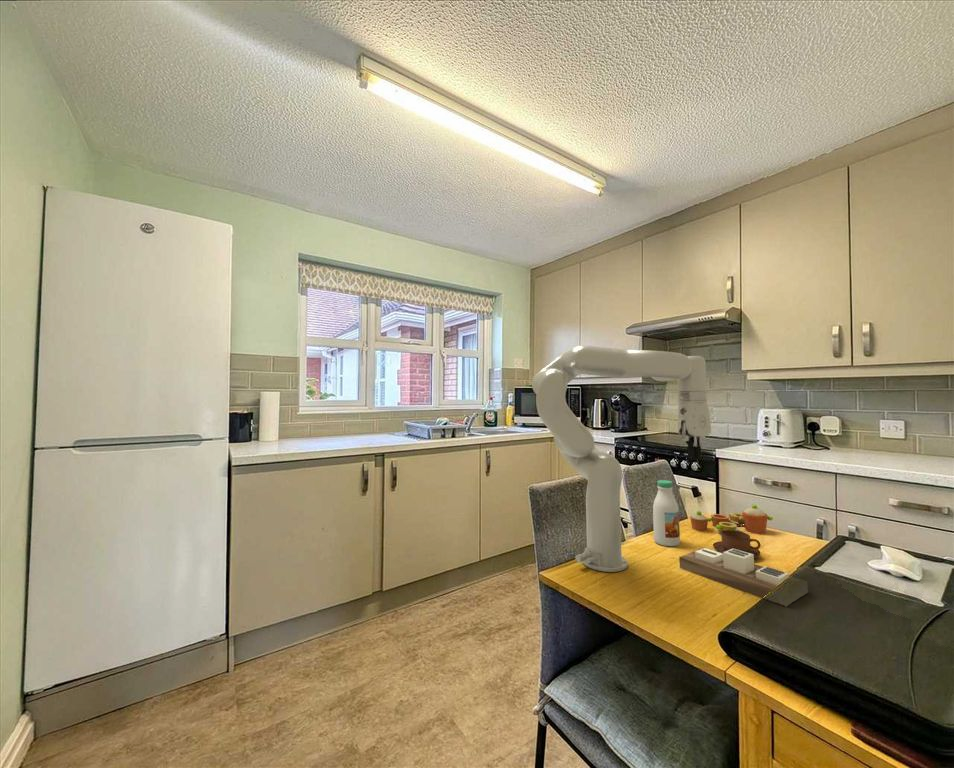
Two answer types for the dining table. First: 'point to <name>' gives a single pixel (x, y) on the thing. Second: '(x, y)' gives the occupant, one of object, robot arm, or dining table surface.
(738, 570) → the tile two
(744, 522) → the toy tea set
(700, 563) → the board
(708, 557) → the tile one
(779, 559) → the dining table surface
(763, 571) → the tile three
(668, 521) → the milk bottle
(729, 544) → the cup and saucer
